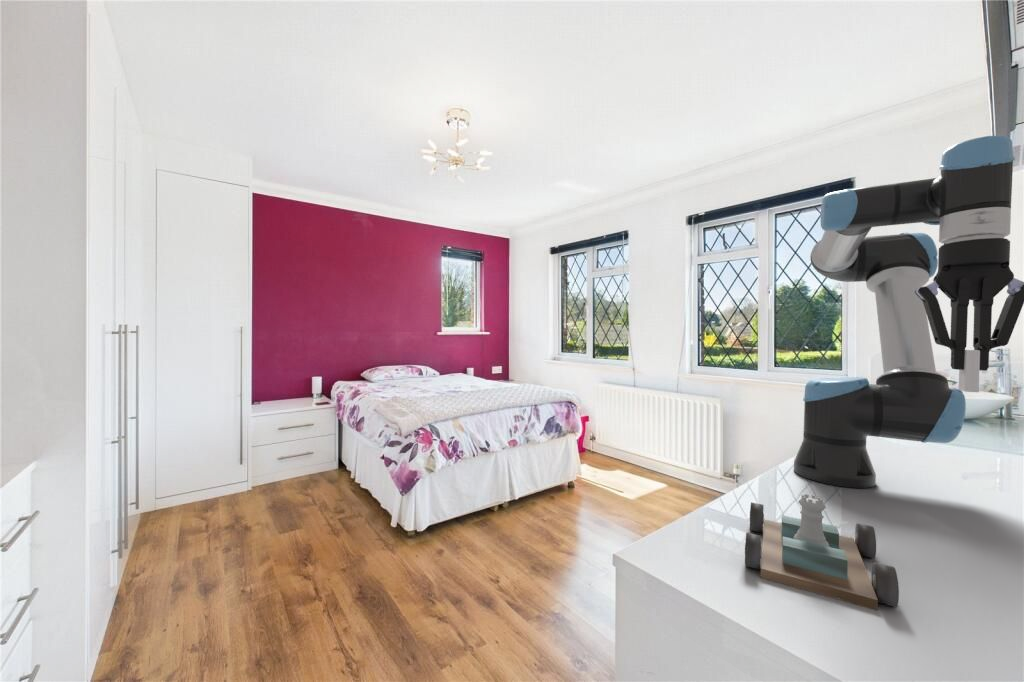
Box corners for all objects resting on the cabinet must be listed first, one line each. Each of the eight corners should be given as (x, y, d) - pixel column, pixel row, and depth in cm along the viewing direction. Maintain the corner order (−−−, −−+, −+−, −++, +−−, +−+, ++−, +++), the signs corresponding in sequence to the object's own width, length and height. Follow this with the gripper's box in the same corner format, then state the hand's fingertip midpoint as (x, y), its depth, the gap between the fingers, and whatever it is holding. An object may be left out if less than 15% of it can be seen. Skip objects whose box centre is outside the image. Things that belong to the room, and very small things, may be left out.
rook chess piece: (836, 562, 58) (838, 505, 58) (801, 558, 59) (802, 502, 58) (819, 546, 62) (821, 493, 62) (786, 542, 63) (788, 490, 63)
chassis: (750, 523, 72) (751, 498, 72) (870, 549, 64) (871, 521, 63) (743, 572, 57) (744, 540, 57) (900, 616, 48) (901, 579, 48)
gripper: (923, 241, 65) (918, 390, 66) (1050, 231, 58) (1044, 397, 59) (910, 249, 72) (906, 385, 72) (1023, 241, 65) (1018, 391, 65)
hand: (968, 390), depth 65 cm, fingers closed
